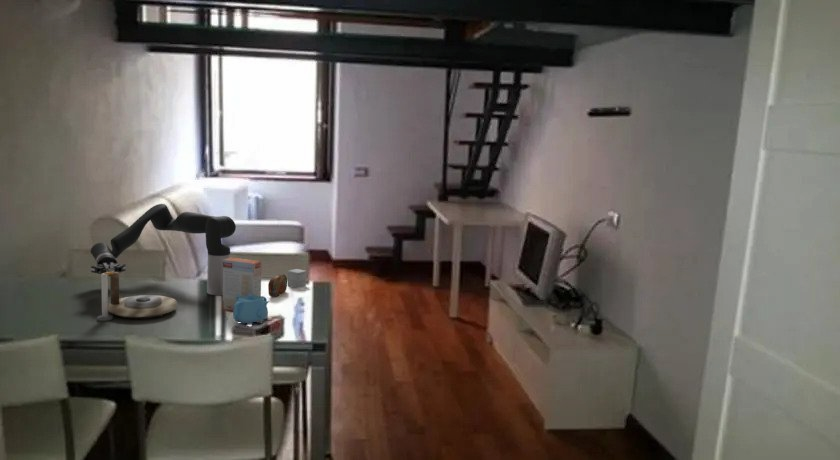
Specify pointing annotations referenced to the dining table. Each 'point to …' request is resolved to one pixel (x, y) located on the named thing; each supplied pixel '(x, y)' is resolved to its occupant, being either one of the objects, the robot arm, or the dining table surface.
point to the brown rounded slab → (277, 286)
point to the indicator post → (105, 298)
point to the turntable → (138, 302)
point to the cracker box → (240, 280)
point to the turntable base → (142, 317)
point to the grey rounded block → (296, 278)
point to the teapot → (250, 308)
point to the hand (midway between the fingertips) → (110, 273)
